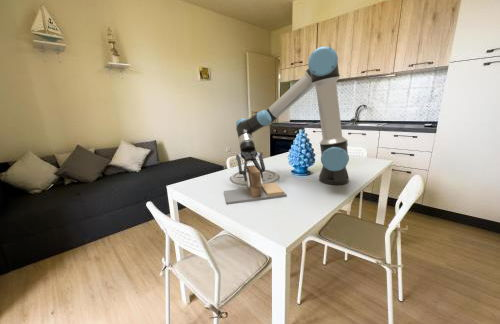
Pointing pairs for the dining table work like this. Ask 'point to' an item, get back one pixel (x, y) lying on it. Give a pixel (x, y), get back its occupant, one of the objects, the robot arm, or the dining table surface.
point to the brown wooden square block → (254, 181)
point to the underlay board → (244, 196)
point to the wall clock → (267, 178)
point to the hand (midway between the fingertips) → (255, 185)
